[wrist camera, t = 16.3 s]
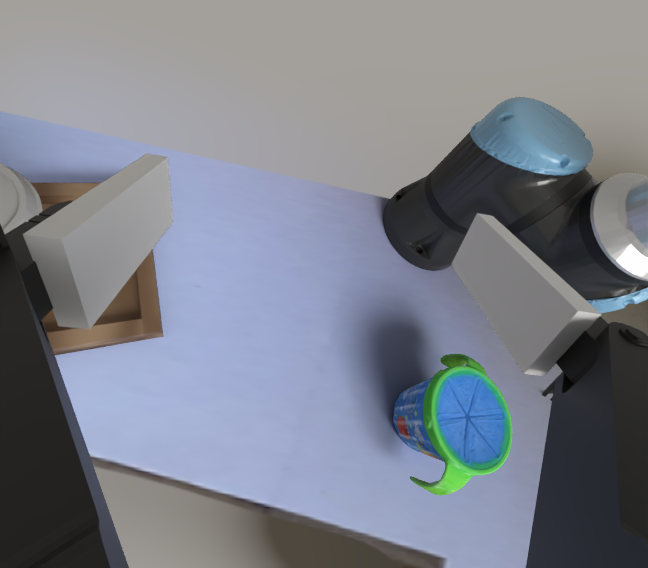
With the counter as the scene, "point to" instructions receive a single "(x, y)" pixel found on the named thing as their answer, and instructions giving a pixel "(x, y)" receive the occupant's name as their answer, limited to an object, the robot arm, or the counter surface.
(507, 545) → the counter surface
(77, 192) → the tray
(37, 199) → the disposable coffee cup
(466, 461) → the snack cup
